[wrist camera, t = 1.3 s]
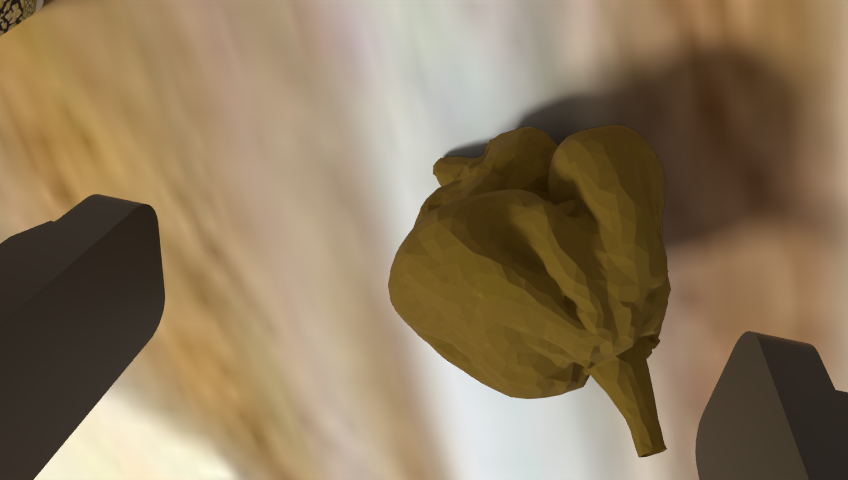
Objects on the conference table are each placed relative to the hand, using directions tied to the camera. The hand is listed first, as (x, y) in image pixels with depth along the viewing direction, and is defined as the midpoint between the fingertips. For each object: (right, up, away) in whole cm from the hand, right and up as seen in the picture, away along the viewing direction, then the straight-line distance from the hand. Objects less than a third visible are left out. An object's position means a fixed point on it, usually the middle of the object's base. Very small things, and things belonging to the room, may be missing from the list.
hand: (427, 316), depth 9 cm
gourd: (+8, +3, +33) cm, 34 cm away
